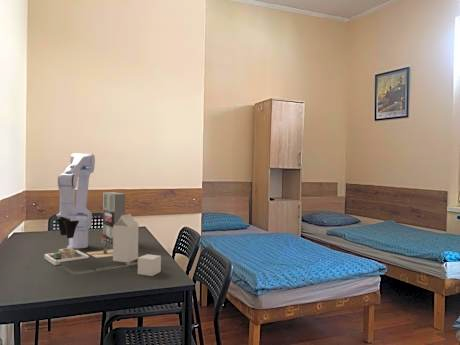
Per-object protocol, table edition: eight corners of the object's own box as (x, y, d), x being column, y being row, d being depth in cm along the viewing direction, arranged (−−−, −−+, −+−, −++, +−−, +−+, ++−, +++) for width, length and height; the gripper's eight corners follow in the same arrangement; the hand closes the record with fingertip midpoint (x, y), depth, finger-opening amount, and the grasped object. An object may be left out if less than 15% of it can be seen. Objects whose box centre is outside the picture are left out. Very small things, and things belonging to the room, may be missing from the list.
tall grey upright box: (100, 242, 189) (101, 192, 189) (112, 241, 193) (113, 192, 193) (112, 247, 179) (113, 194, 178) (125, 246, 183) (125, 194, 182)
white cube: (152, 276, 136) (152, 259, 136) (137, 274, 138) (137, 257, 138) (160, 271, 142) (161, 255, 141) (146, 270, 144) (147, 254, 144)
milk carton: (138, 260, 156) (138, 214, 156) (128, 265, 150) (128, 216, 149) (123, 259, 159) (123, 213, 158) (112, 263, 152) (113, 215, 151)
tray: (44, 258, 157) (44, 254, 157) (77, 254, 166) (77, 249, 166) (54, 265, 147) (54, 260, 147) (88, 260, 156) (89, 255, 156)
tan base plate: (85, 254, 164) (86, 241, 164) (112, 251, 172) (112, 238, 172) (97, 260, 156) (97, 246, 155) (124, 256, 163) (124, 243, 163)
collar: (70, 256, 160) (70, 247, 160) (75, 258, 156) (75, 250, 156) (53, 258, 155) (53, 250, 155) (56, 261, 151) (57, 252, 151)
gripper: (51, 202, 159) (51, 234, 159) (63, 205, 148) (62, 240, 148) (68, 201, 163) (68, 232, 164) (81, 204, 152) (81, 238, 153)
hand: (67, 236), depth 156 cm, fingers open, 7 cm apart
